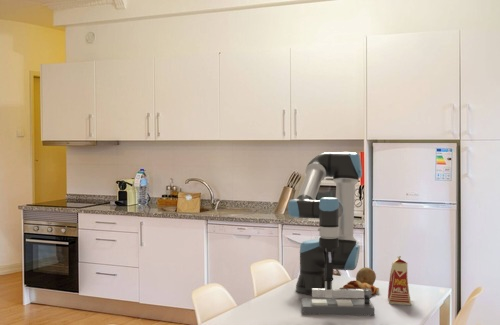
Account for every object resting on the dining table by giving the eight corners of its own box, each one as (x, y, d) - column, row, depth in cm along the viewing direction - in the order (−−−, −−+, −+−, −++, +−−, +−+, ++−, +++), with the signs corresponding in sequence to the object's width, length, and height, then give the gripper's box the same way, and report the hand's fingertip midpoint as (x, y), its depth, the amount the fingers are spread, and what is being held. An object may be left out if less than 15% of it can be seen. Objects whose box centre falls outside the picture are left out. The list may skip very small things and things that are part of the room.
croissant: (375, 299, 256) (371, 282, 260) (386, 293, 248) (381, 276, 251) (333, 302, 250) (330, 284, 253) (343, 296, 241) (339, 278, 245)
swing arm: (311, 295, 229) (311, 287, 229) (370, 296, 227) (370, 288, 227) (312, 297, 225) (312, 290, 225) (372, 298, 224) (372, 291, 224)
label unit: (301, 305, 233) (301, 293, 233) (369, 306, 232) (369, 294, 232) (302, 314, 221) (302, 301, 221) (374, 315, 220) (374, 302, 220)
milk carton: (411, 305, 235) (411, 257, 234) (388, 303, 236) (388, 256, 236) (409, 299, 244) (409, 253, 243) (387, 298, 245) (388, 252, 245)
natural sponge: (364, 292, 255) (364, 270, 255) (351, 287, 263) (352, 266, 263) (379, 289, 260) (379, 268, 260) (366, 285, 268) (367, 264, 267)
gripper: (318, 234, 226) (317, 292, 227) (320, 239, 213) (320, 301, 214) (336, 234, 226) (336, 293, 226) (340, 239, 213) (339, 301, 213)
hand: (328, 297), depth 220 cm, fingers closed
